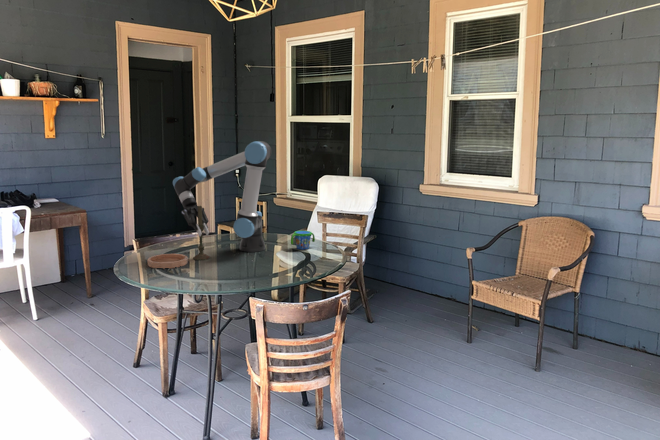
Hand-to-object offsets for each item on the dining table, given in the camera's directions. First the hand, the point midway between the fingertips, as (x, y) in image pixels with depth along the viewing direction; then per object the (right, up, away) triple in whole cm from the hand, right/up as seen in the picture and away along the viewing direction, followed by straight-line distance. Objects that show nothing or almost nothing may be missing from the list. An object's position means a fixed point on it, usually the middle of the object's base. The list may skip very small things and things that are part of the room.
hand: (204, 234), depth 286 cm
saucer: (-18, -15, -7) cm, 24 cm away
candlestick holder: (-3, -14, +5) cm, 15 cm away
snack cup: (+52, -10, +31) cm, 62 cm away
